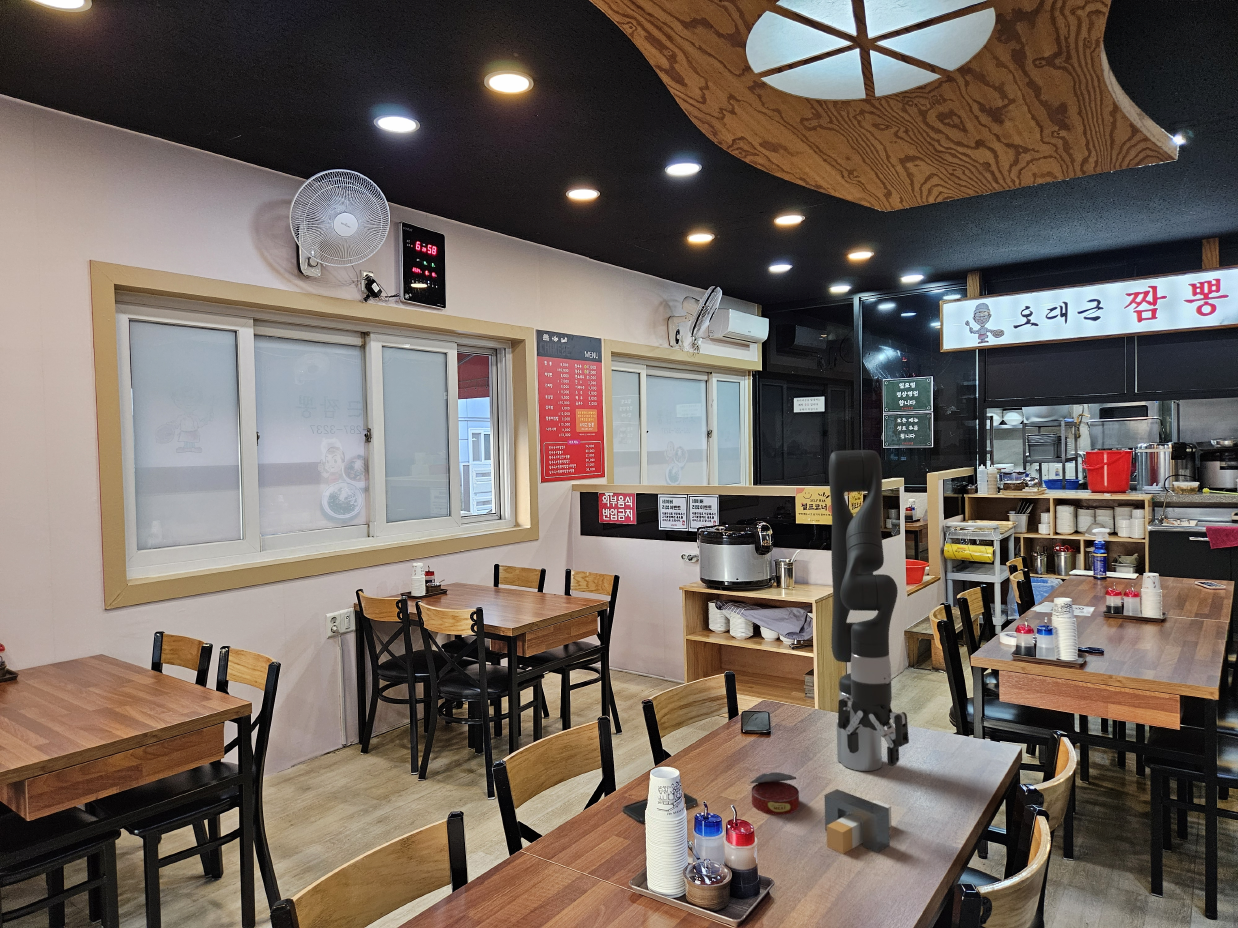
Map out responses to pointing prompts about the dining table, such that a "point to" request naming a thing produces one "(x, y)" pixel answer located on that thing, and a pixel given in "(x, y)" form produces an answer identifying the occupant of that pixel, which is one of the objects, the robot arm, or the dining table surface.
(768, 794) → the canned food
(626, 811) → the phone
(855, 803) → the u-shaped slotted block
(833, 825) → the bar
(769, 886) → the dining table surface
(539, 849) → the dining table surface
